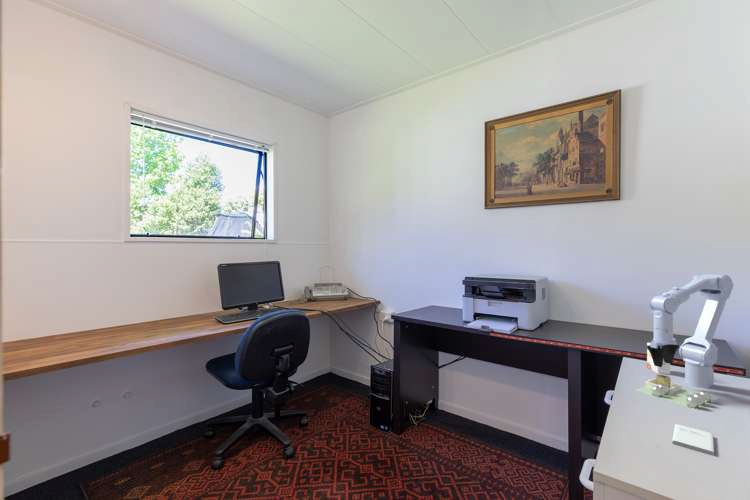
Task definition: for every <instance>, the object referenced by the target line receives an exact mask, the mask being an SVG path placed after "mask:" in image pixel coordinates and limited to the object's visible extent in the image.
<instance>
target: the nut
mask: <svg viewBox="0 0 750 500" xmlns="http://www.w3.org/2000/svg"><path fill="white" fill-rule="evenodd" d="M655 378H656V384H657V385H658V384H665V385H668V388H670V384H671V382H672V381H671V380H672V379H671V376H668V375H666V374H655Z"/></svg>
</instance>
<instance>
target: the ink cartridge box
mask: <svg viewBox="0 0 750 500" xmlns="http://www.w3.org/2000/svg"><path fill="white" fill-rule="evenodd" d="M646 345H647V346H649V345H650V342H647V343H646ZM647 346H646V347H647ZM646 369H647V370H648V369H649V370H651V371H653V372H655V373H656V374H657V375H671V364H669V363H665V362H664V358H663V365H662V367H658V366H654V363H653V359H652V356H651V354H650V352H649V350H648V349H646Z"/></svg>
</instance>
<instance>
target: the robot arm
mask: <svg viewBox="0 0 750 500" xmlns="http://www.w3.org/2000/svg"><path fill="white" fill-rule="evenodd" d="M692 277H693V278H692V280H690V281H689V282H688V283H686V284H685V285H684V286H682V287H677V286H673V287H672V288H671V290H669V291H667V292H664V293H662V295H655V296H653V297H652V298H651V299H650V301H649V303H648V305H649V308H650V310H651V314H652V315H653V338H652V339H651V341H650V342H649V343H650V345H649V346H646V348H647V349H648V350H649V352H650V354H651V356H652V359H653V363H654V366H658V367H662V365H663V358H664V362H665V363H669V364H670V365H671V364H673V361H674V358H675V354H676V352H677V351H678V354H679V355H680V357H681V358H682V360H683V362H684V383H685V384H686V385H688V386H692V387H695V388H700V389H710V388H711V387H712V386H713V387H717V385H715V384H714V382H715V381H714V380H715V379H714V378H715V376H714V372H715V371H714V368H713V366H714V365H715V364H716V362H717V361H718V351H719V348H718V347H717V346H716V345H715V344H714V343H713V338H714V336H715V333H716V331H717V328H718V325H719V322H720V320H721V317H722V314H723V311H724V309H725V305H726V303H727V300H728V299H730V297H731V294H732V291H733V290H734V289H733V288H734V282H733V280H732V278H731V276H730V275H728V274H712V273H711V274H710V273H709V274H708V273H706V274H705V273H702V272H701V273H697V274H696V275H694V276H692ZM698 292H699V293H700V294H701V296H702V297H704V298H705V299H706V301H705V304H704V307H703V310H702V312H701V314H700V317H699V320H698V323H697V325H696V328H695V331H694V334H693V335H692V336H691V337H690V336H689V337H687V338H686V339H684V341H683V343H682V344H681V345H679V344H678V342H677V341H676V338H675V337H674V313H676V312H677V310H678V308H679V307H680V305H682V304H684V303H685V302H687V301H689V299H690V297H691V295H694V294H695V293H698ZM647 349H646V350H647Z"/></svg>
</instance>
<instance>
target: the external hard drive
mask: <svg viewBox="0 0 750 500" xmlns="http://www.w3.org/2000/svg"><path fill="white" fill-rule="evenodd" d="M672 435H673V436H672V441H671V443H672V445H674V446H677V447H678V446H679V447H681V448H686V449H689V450H692V451H695V452H700V453H703V454H706V455H710V456H713V457H715V447H714V443H715V442H714V433H711V432H708V431H704V430H701V429H697V428H693V427H689V426H685V425H682V424H678V423H675V424H674V430H673V434H672Z"/></svg>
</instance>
